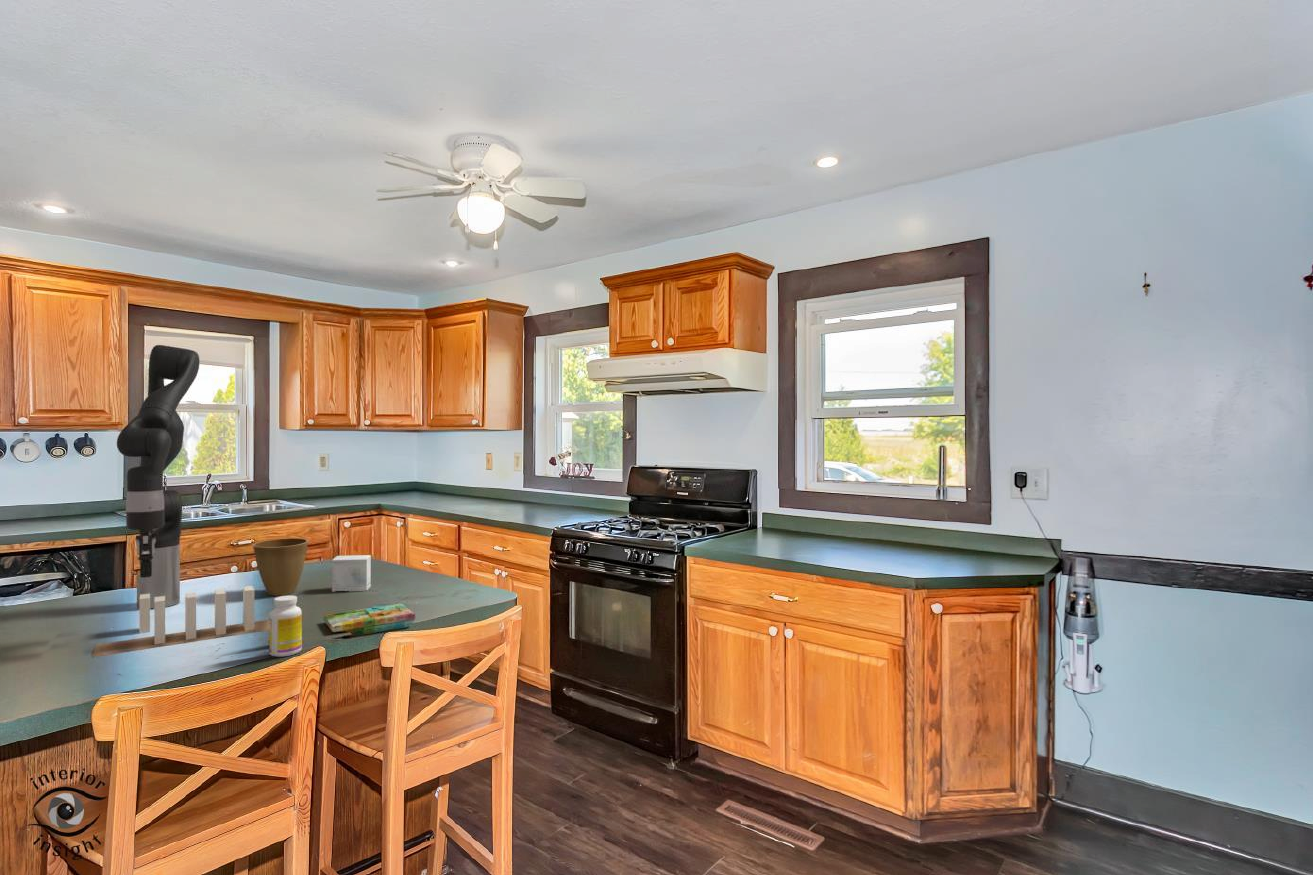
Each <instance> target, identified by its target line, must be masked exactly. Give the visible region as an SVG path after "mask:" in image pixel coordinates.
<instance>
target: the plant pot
mask: <svg viewBox="0 0 1313 875" xmlns="http://www.w3.org/2000/svg"><path fill="white" fill-rule="evenodd" d="M308 544H309V540H308V539H306V538H301V537H299V538H298V537H287V538H275V539H267V540H263V541H258V542H255V543H253V544H252V547H253V552H254V557H255V562H256V567H257V569H258V573H259V576H260V578H261V581H262V583H263V587H264V588H265V591H266V594H267V595H269V596H271V597H281V596H289V595H292V594H294V593H295V592H296V590H297V588H298V585H299V583H300V579H301V577H302V574H303V570H304V567H305V562H306V561H305V560H306V556H307V551H308Z"/></svg>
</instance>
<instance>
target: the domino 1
mask: <svg viewBox="0 0 1313 875" xmlns="http://www.w3.org/2000/svg"><path fill="white" fill-rule="evenodd" d="M138 617H139V634H146V633H150V632H151V608H150V594H141V595H140V599H139V616H138Z"/></svg>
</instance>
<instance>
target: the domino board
mask: <svg viewBox="0 0 1313 875" xmlns="http://www.w3.org/2000/svg"><path fill="white" fill-rule="evenodd" d="M266 631H269V619H264V620H257V621H254V630H248V631H245V630H244V627H243V622H242V623H237V624H228V625H226V634H221V635H216V632H215V626H214V627H209V628H201V629H196V638H195V639H188V640H186V635H185V631H180V632H174V633H168V634H167V633H165V643H162V644H155V635H154V636H153V635H152V636H145V637H140V638H139V637H138V638H133V639H125V640H120V641H111V642H105V643H98V644H95V645H94V649H93V652H92V655H91V658H96V657H103V656H108V655H115V654H116V655H117V654H123V653H130V652H136V651H142V650H147V649H148V650H149V649H153V648H154V649H155V648H161V647H168V646H175V645H181V644H189V643H196V642H201V641H206V640H209V641H210V640H215V639H219V638H220V639H221V638H228V637H233V636H239V635H246V634H247V635H248V634H255V633H258V632H259V633H260V632H261V633H262V632H266Z"/></svg>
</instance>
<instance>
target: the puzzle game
mask: <svg viewBox="0 0 1313 875" xmlns="http://www.w3.org/2000/svg"><path fill="white" fill-rule="evenodd" d="M322 618H323V619H322V620H323V621H324V622H325V624H326V625H327V626H328V628H329V630H330V631H331V632H332V633H339V632H345V633H350V634H347V635H346V636H347V637H354V636H355V637H356V636H362V635H366V634H367V635H368V634H374V633H380V632H386V631H387V632H388V631H392V630H398V629H405V628H410V627H411V625H412V624H413V623H414V621H415V620H416V613H414V612H413V611H412V610H411V609H410V608H408V607H407V606H406V605H404V604H403V603H396V604H389V605H383V606H382V605H381V606H378V605H374V606H372V607H369V608H368V607H367V608H362V609H356V610H349V611H342V612H335V613H329V614H323V617H322Z"/></svg>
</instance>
